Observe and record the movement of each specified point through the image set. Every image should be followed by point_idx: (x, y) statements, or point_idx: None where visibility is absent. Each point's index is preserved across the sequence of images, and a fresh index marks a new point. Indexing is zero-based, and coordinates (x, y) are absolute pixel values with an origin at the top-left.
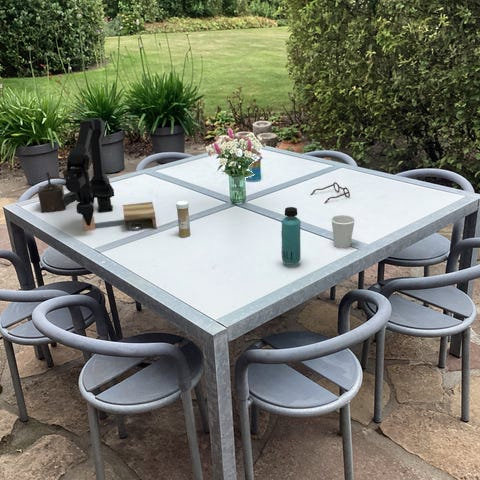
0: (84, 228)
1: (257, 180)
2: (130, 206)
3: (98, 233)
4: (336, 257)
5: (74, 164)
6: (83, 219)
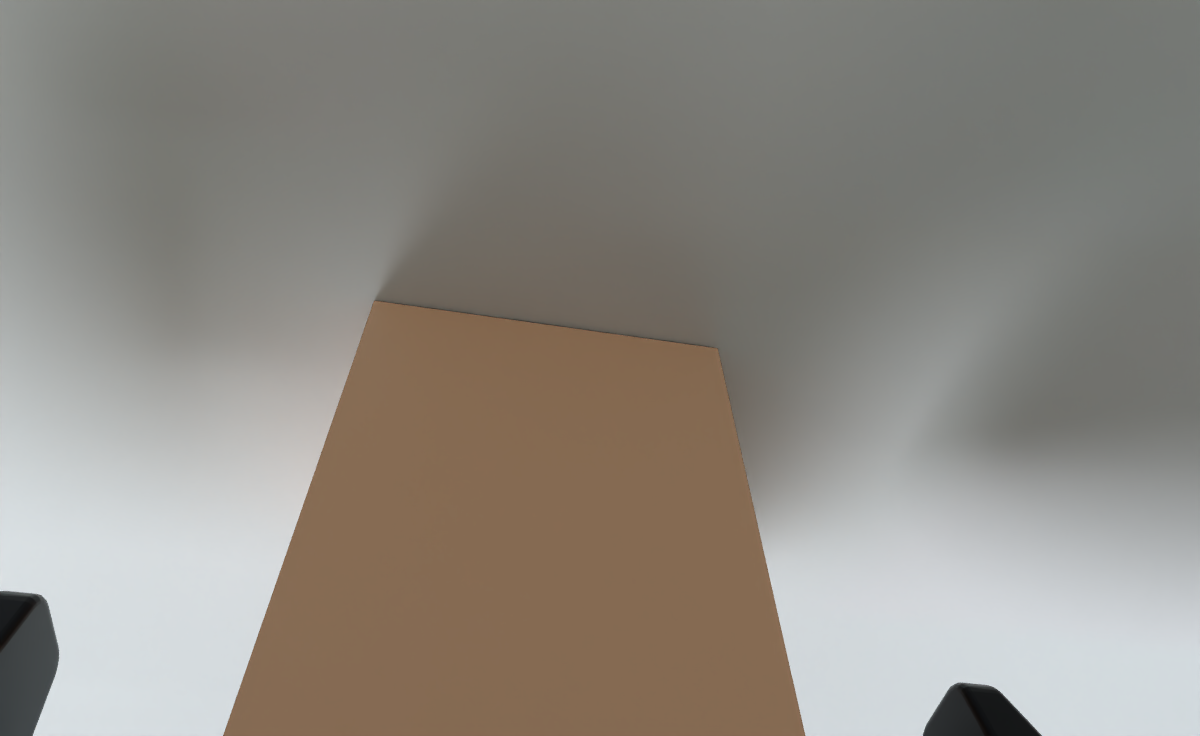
0: (355, 361)
1: None
2: None
3: (60, 581)
4: None
5: None
6: (250, 697)
